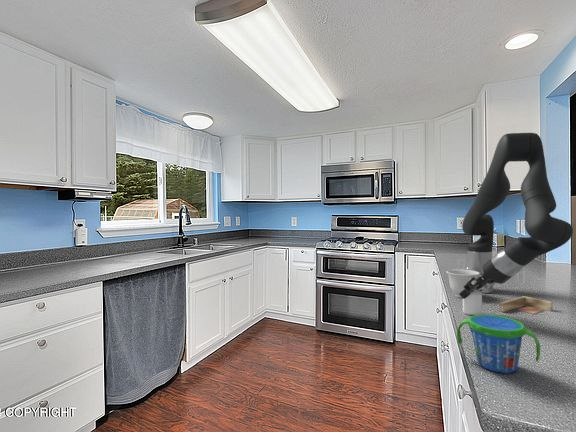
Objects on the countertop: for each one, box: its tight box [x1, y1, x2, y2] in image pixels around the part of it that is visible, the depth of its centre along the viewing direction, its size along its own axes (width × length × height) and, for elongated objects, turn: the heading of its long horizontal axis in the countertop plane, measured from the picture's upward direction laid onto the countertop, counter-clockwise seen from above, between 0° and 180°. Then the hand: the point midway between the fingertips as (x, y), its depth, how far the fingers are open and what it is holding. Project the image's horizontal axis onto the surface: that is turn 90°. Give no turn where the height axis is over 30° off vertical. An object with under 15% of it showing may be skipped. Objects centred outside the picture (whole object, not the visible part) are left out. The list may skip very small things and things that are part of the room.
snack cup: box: [456, 314, 541, 374], centre depth 69 cm, size 16×10×10 cm
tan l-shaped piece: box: [498, 295, 554, 315], centre depth 104 cm, size 9×16×3 cm, turn 117°
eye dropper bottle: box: [462, 279, 483, 316], centre depth 103 cm, size 4×6×12 cm
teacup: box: [446, 268, 480, 299], centre depth 125 cm, size 12×15×10 cm
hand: (466, 295), depth 105 cm, fingers closed on eye dropper bottle, 5 cm apart
